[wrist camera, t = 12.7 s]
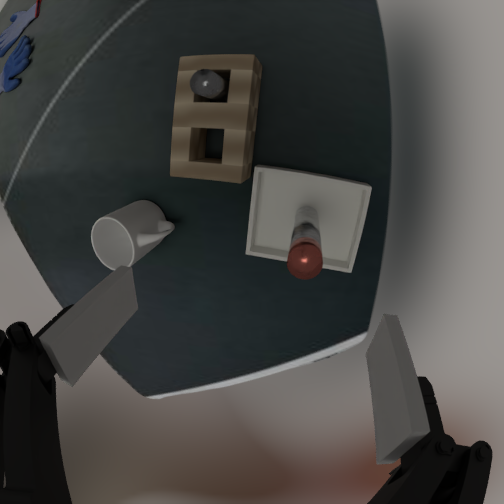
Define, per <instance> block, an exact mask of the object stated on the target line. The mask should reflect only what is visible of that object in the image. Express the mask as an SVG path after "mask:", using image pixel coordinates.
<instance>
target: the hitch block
mask: <svg viewBox="0 0 504 504" xmlns="http://www.w3.org/2000/svg"><path fill="white" fill-rule="evenodd" d="M201 69H209V70H212V71H213V72H215V73H216V74H218V75H220V76H221V77H223V78H230V83H229V92H228V102H227V103H210V98H207V97H204V96H201V95H198V94H195V93H194V92H193V91H192V90H191V88H190V79H191V77H192V75H193V74H194V73H195V72H197V71H198V70H201ZM261 75H262V65H261V63H260V62H259V60H258V59H257V58H256V56H255V55H249V54H220V55H198V56H185V57H180V62H179V69H178V77H177V86H176V95H175V105H174V116H173V129H172V144H171V164H170V176H176V177H187V178H197V179H207V180H216V181H225V182H233V183H242V182H244V181H245V180H247V179H248V178H250V177H251V168H252V158H253V149H254V139H255V130H256V121H257V111H258V102H259V93H260V84H261ZM207 128H214V129H225V132H224V142H223V154H222V159H215V158H205V150H206V137H207Z"/></svg>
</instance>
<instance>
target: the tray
mask: <svg viewBox="0 0 504 504" xmlns="http://www.w3.org/2000/svg"><path fill="white" fill-rule="evenodd" d="M371 189H372V187H371V186H370V185H369V184H368V183H363V182H359V181H354V180H349V179H344V178H339V177H334V176H329V175H324V174H318V173H312V172H307V171H300V170H294V169H288V168H281V167H274V166H267V165H257V166H255V169H254V178H253V188H252V197H251V207H250V217H249V226H248V236H247V246H246V254H248V255H254V256H259V257H265V258H270V259H276V260H281V261H287V258H288V253H289V248H290V242H291V237H292V231H293V226H294V220H295V215H296V212H297V210H298V209H299V208H300V207H302V206H311V207H313V208H314V209H315V210H316V211H317V213H318V217H319V226H320V236H321V246H322V257H323V267H322V268H326V269H332V270H338V271H343V272H349V273H351V272H352V268H353V265H354V261H355V257H356V254H357V250H358V246H359V242H360V238H361V234H362V230H363V226H364V222H365V217H366V213H367V208H368V204H369V199H370V194H371Z"/></svg>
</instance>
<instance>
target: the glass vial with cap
mask: <svg viewBox="0 0 504 504" xmlns="http://www.w3.org/2000/svg"><path fill="white" fill-rule="evenodd" d="M287 267H288V269H289V271H290V273H291V274H292V275H294V276H295V277H297V278H300V279H311V278H313V277H315V276H317V275H318V274H319V273H320V271H321V269H322V267H323V257H322V246H321V236H320V226H319V217H318V213H317V211H316V210H315V209H314V208H313V207H311V206H302V207H300V208H299V209H298V210H297V212H296V215H295V220H294V226H293V231H292V237H291V242H290V248H289V253H288V258H287Z"/></svg>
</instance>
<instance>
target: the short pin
mask: <svg viewBox="0 0 504 504" xmlns="http://www.w3.org/2000/svg"><path fill="white" fill-rule="evenodd" d="M229 83H230V82H229V81H228V80H226V79H224V78H223V77H221V76H220V75H218V74H216V73H215V72H213V71H212V70H209V69H201V70H198V71H197V72H195V73H194V74H193V75H192V77H191V79H190V88H191V90H192V91H193V92H194V93H195V94H198V95H201V96H204V97H207V98H210V99H212V100H215V101H218V102H221V103H227V102H228V92H229Z"/></svg>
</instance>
